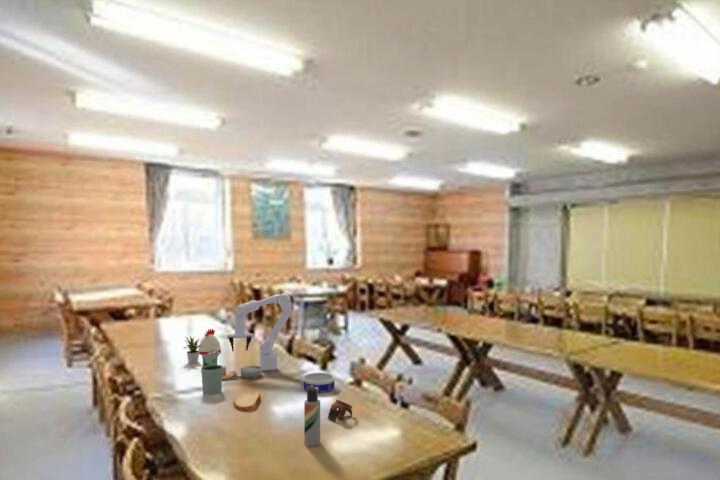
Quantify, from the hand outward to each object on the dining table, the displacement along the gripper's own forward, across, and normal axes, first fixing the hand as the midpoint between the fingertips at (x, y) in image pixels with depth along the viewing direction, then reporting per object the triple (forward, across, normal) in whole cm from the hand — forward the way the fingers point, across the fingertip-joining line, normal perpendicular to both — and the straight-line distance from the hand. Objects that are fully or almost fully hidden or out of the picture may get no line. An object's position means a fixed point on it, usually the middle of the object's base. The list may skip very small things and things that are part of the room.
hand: (239, 350), depth 277 cm
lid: (+10, +10, +14) cm, 20 cm away
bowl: (+10, -5, +16) cm, 20 cm away
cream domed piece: (+11, +16, -50) cm, 53 cm away
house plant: (+11, +26, -25) cm, 38 cm away
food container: (+11, +14, -3) cm, 18 cm away
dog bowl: (+10, -34, +49) cm, 61 cm away
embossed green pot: (+11, +16, +39) cm, 43 cm away
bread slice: (+11, 0, +61) cm, 62 cm away
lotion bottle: (+10, -18, +112) cm, 114 cm away
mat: (+10, +10, +13) cm, 20 cm away
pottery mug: (+10, -34, +92) cm, 98 cm away
